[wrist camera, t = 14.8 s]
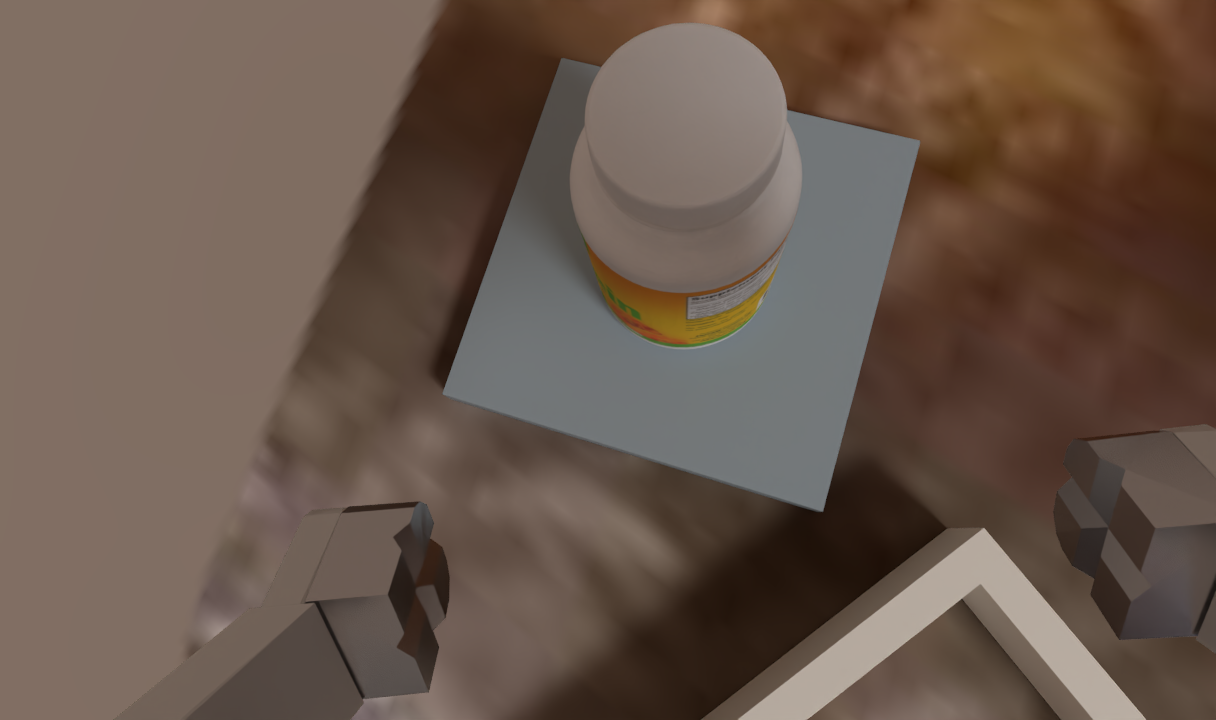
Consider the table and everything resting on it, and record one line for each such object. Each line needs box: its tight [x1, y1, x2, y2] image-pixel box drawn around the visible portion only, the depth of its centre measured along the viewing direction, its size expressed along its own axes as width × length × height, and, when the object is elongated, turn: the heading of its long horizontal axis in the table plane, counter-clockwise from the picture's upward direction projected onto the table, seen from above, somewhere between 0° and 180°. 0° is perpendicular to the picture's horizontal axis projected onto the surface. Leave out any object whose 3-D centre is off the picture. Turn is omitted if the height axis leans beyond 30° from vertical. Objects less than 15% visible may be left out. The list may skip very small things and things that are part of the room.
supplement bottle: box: [570, 23, 802, 350], centre depth 20 cm, size 5×5×10 cm
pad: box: [442, 58, 920, 512], centre depth 26 cm, size 12×12×1 cm
